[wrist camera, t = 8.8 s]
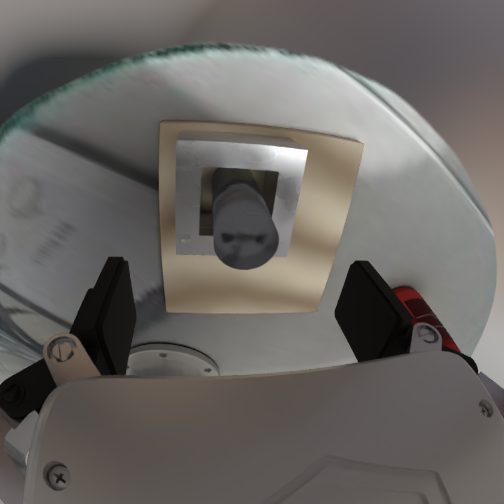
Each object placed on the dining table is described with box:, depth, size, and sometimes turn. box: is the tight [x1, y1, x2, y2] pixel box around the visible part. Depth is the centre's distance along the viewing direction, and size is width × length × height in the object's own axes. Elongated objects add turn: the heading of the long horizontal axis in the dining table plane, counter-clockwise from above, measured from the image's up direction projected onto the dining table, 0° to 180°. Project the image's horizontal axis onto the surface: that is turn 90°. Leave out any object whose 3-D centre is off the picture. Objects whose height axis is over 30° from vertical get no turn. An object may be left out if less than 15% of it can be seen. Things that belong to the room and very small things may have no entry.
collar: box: [175, 130, 308, 257], centre depth 18 cm, size 7×7×4 cm
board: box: [159, 120, 364, 313], centre depth 22 cm, size 16×14×1 cm
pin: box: [212, 167, 279, 270], centre depth 16 cm, size 3×3×8 cm
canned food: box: [393, 287, 461, 353], centre depth 26 cm, size 8×8×11 cm
